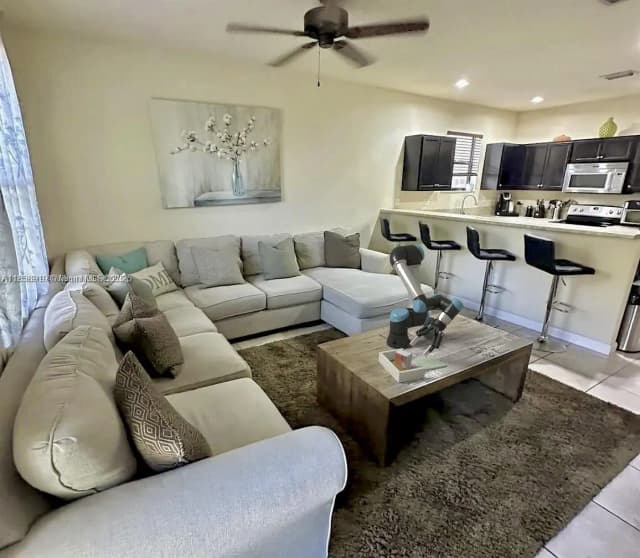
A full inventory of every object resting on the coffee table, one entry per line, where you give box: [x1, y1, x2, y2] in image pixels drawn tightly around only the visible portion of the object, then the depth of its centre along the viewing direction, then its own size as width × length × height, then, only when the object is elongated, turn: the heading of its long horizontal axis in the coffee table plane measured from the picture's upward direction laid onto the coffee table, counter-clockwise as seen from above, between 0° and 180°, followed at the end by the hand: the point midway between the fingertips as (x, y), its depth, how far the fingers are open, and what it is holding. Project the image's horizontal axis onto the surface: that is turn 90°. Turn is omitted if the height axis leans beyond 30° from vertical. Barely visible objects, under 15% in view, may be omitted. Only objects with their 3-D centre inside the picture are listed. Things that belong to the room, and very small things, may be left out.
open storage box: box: [378, 348, 426, 384], centre depth 203 cm, size 24×16×6 cm, turn 17°
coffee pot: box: [422, 316, 436, 339], centre depth 239 cm, size 21×12×15 cm, turn 20°
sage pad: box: [413, 355, 447, 372], centre depth 209 cm, size 12×14×1 cm
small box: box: [393, 349, 413, 371], centre depth 203 cm, size 8×6×10 cm
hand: (417, 350), depth 202 cm, fingers open, 13 cm apart
